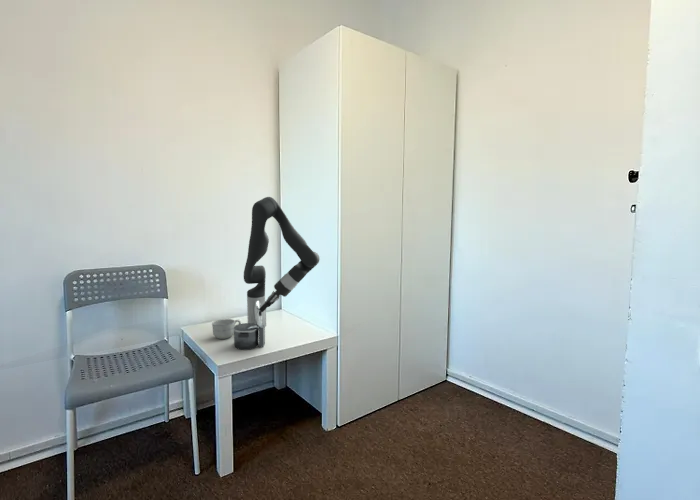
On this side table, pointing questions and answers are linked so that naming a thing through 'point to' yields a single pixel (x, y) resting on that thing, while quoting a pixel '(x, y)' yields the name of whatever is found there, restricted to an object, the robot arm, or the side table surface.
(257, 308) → the lid
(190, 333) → the side table surface
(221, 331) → the teacup
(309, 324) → the side table surface
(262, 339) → the pot
